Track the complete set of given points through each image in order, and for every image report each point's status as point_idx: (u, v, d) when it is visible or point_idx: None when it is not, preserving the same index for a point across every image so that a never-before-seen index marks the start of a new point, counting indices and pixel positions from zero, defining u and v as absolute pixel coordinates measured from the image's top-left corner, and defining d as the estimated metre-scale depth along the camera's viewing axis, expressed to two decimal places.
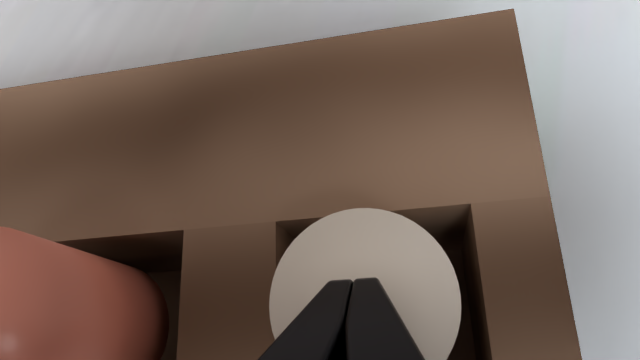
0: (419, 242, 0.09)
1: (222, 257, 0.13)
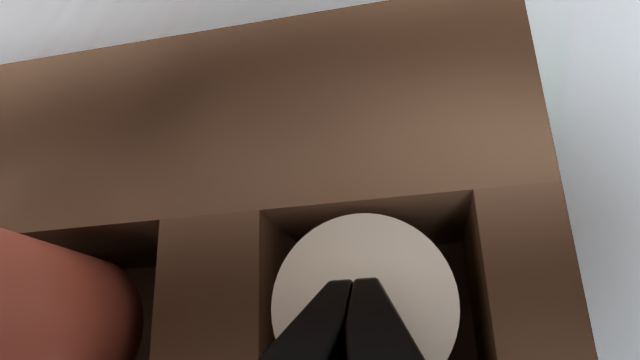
0: (418, 247, 0.09)
1: (201, 250, 0.12)
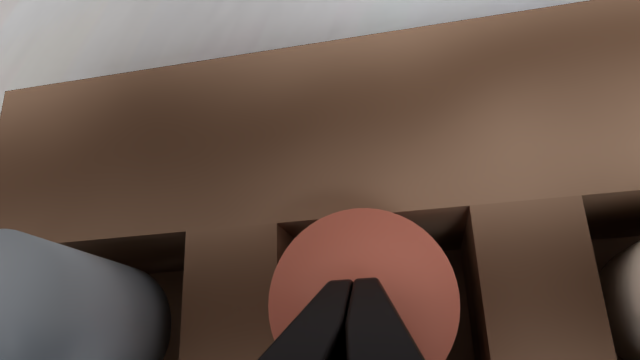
0: None
1: (523, 235, 0.11)
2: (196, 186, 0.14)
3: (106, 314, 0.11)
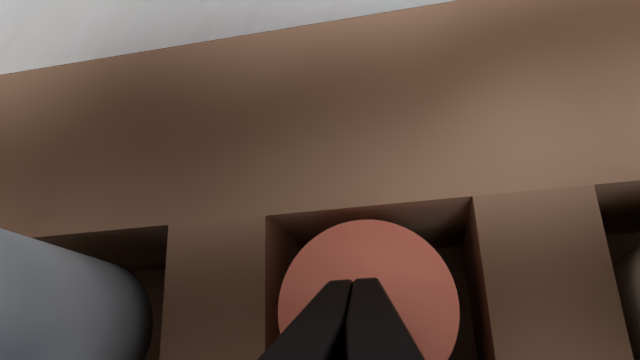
0: None
1: (531, 228, 0.11)
2: (180, 177, 0.13)
3: (77, 313, 0.10)
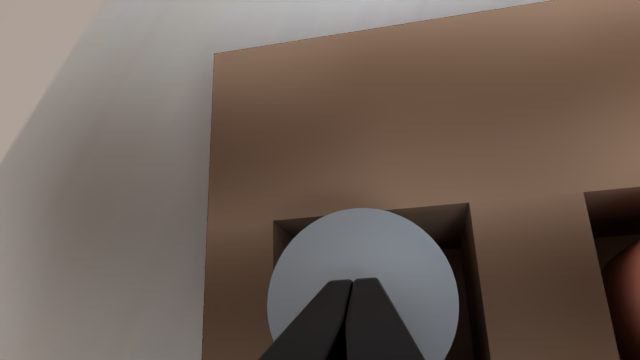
0: None
1: None
2: (472, 153, 0.12)
3: None
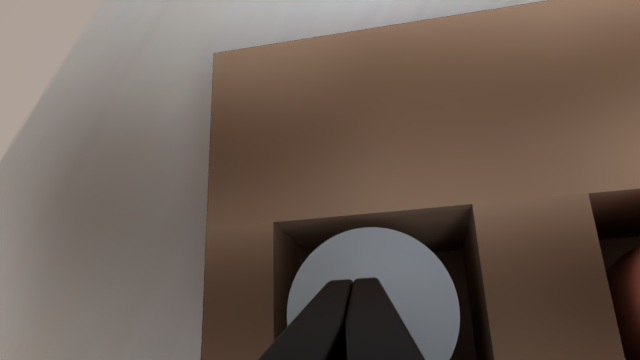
0: None
1: None
2: (475, 153, 0.12)
3: None
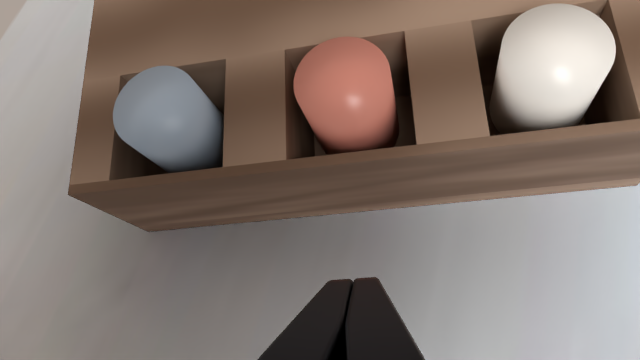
0: (587, 17, 0.17)
1: (435, 44, 0.19)
2: (231, 32, 0.21)
3: (212, 114, 0.20)
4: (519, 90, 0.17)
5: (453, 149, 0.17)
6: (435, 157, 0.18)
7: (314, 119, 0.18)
